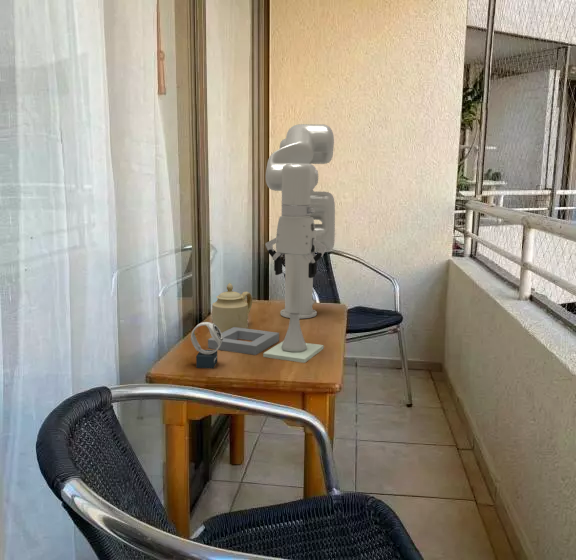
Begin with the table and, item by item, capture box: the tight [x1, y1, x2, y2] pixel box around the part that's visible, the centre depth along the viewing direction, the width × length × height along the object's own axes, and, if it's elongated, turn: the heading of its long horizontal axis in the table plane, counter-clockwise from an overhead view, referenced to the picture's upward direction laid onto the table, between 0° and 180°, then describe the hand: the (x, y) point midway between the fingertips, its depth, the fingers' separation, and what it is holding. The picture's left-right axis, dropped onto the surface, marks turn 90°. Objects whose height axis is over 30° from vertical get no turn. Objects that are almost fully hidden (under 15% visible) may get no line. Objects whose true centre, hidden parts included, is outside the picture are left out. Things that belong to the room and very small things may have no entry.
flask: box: [281, 312, 307, 352], centre depth 161 cm, size 7×7×10 cm
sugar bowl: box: [211, 282, 253, 333], centre depth 185 cm, size 15×11×15 cm
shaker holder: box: [207, 327, 280, 356], centre depth 169 cm, size 15×15×2 cm
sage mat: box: [262, 340, 325, 364], centre depth 162 cm, size 14×12×1 cm
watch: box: [190, 321, 223, 369], centre depth 150 cm, size 6×8×11 cm
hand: (295, 275), depth 159 cm, fingers open, 9 cm apart
